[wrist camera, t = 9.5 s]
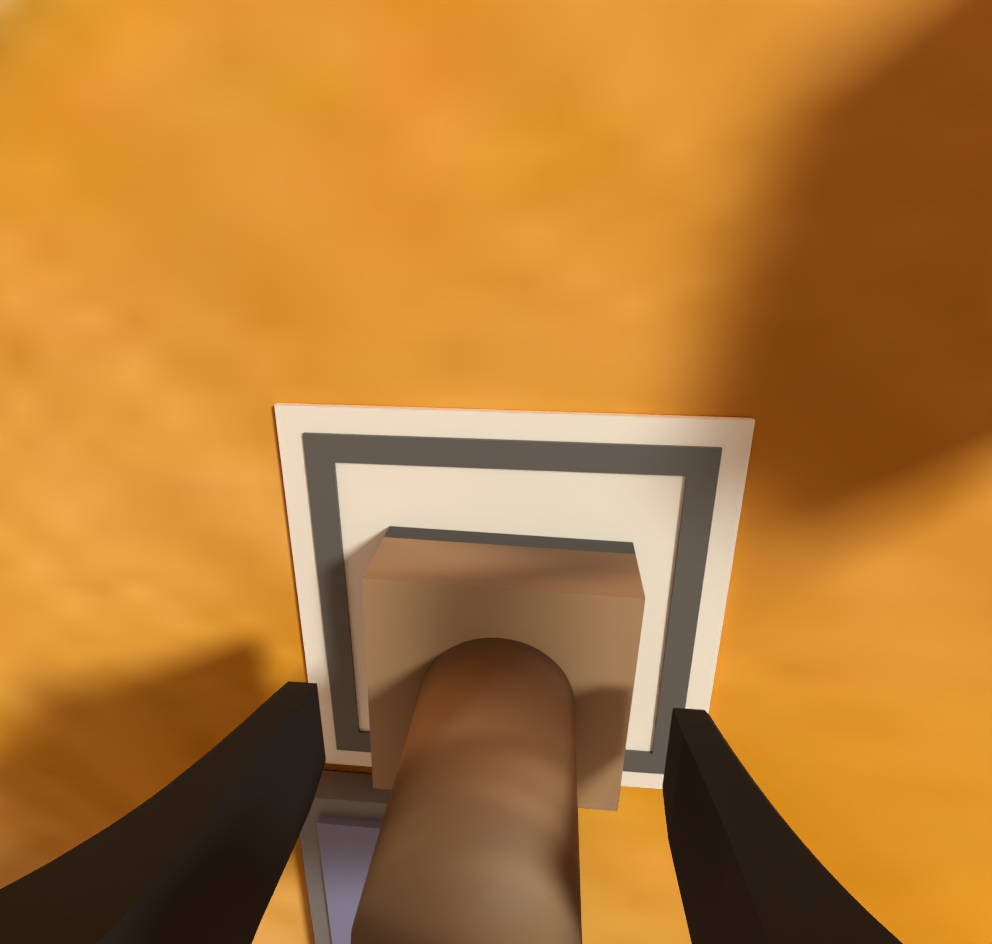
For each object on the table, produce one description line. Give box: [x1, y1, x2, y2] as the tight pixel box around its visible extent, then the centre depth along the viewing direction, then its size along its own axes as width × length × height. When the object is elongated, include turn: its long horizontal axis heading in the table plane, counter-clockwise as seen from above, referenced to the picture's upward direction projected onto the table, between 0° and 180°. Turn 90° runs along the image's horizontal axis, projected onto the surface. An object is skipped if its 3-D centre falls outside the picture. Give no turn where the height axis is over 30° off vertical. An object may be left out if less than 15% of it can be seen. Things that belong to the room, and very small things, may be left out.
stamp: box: [351, 526, 645, 944], centre depth 14 cm, size 6×6×8 cm
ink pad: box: [299, 770, 391, 944], centre depth 21 cm, size 8×9×1 cm
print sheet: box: [274, 403, 755, 789], centre depth 17 cm, size 11×11×1 cm
